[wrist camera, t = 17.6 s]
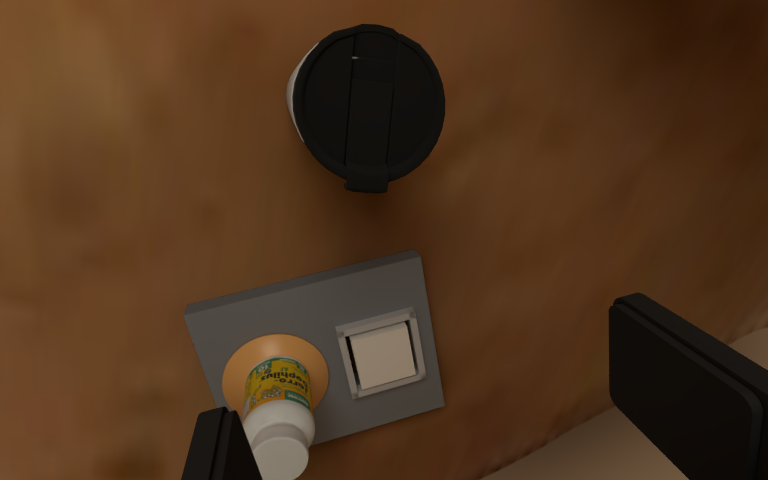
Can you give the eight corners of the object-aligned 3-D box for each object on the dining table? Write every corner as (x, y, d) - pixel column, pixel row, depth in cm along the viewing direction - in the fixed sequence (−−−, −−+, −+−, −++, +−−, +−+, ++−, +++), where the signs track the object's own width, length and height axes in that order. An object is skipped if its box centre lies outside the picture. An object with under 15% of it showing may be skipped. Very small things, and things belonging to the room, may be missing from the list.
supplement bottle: (240, 402, 40) (229, 491, 31) (253, 348, 39) (245, 424, 30) (302, 408, 42) (308, 495, 33) (316, 356, 41) (326, 432, 32)
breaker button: (399, 312, 43) (407, 326, 40) (407, 357, 45) (415, 374, 42) (346, 326, 42) (350, 341, 40) (357, 372, 44) (362, 389, 41)
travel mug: (283, 139, 37) (288, 190, 18) (288, 49, 35) (297, 4, 16) (361, 146, 38) (439, 200, 20) (369, 60, 36) (464, 30, 18)
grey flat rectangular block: (414, 249, 42) (424, 260, 39) (438, 393, 47) (448, 412, 45) (187, 305, 39) (180, 321, 36) (240, 451, 45) (238, 475, 42)
